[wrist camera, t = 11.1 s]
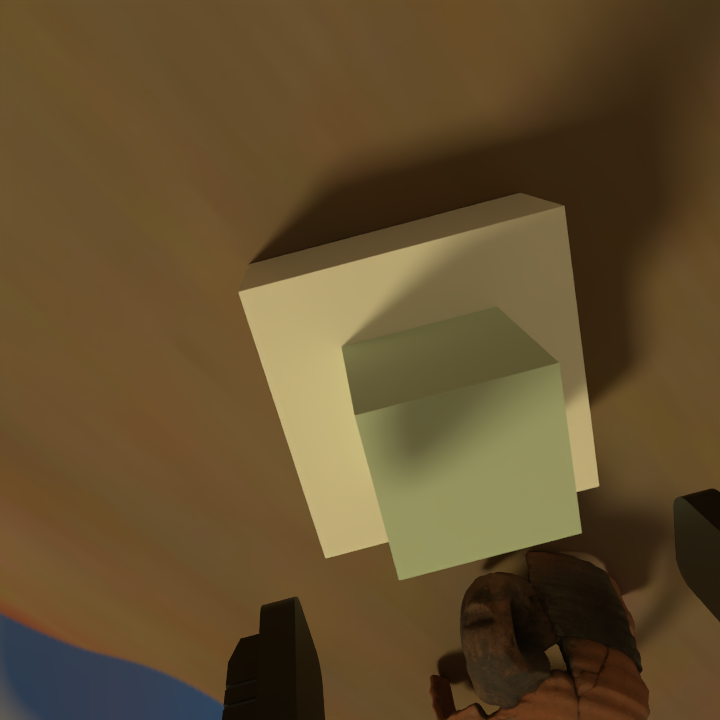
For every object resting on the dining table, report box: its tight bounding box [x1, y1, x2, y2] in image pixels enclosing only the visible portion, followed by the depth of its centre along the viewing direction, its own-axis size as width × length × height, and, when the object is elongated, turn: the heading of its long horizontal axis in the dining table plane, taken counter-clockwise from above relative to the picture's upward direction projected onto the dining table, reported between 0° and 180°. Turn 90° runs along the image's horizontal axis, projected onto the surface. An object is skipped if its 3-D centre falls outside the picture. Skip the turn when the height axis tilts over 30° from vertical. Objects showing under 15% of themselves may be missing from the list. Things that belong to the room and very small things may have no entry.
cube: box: [341, 307, 582, 580], centre depth 18 cm, size 5×5×5 cm
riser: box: [239, 193, 599, 558], centre depth 22 cm, size 10×10×4 cm
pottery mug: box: [429, 552, 650, 720], centre depth 27 cm, size 12×10×8 cm
